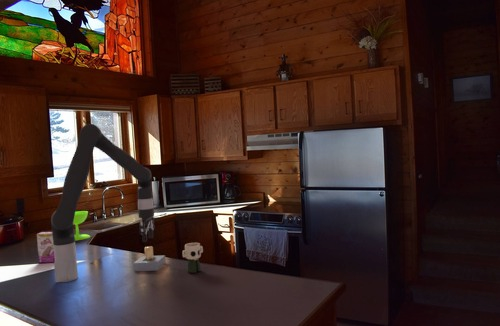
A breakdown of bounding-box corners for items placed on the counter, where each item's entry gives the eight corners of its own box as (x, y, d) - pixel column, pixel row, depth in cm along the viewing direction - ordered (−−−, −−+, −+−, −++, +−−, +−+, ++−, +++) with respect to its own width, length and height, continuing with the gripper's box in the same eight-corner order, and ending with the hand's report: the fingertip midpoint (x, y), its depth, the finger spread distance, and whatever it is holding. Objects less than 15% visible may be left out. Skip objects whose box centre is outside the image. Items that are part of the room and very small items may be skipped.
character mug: (188, 276, 180) (186, 248, 179) (180, 273, 185) (178, 245, 185) (208, 270, 187) (206, 243, 186) (200, 267, 192) (198, 240, 192)
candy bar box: (38, 263, 220) (35, 234, 220) (43, 260, 225) (41, 232, 225) (57, 262, 219) (54, 233, 218) (62, 260, 224) (60, 231, 223)
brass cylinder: (152, 268, 196) (151, 248, 196) (144, 268, 197) (143, 248, 196) (155, 265, 200) (153, 246, 200) (147, 266, 201) (146, 246, 200)
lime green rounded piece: (60, 240, 277) (58, 215, 276) (76, 235, 292) (74, 211, 292) (79, 241, 273) (77, 215, 272) (94, 235, 288) (92, 211, 287)
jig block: (157, 270, 192) (157, 262, 192) (134, 271, 193) (133, 263, 193) (165, 263, 204) (165, 255, 204) (143, 263, 205) (142, 256, 205)
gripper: (147, 209, 190) (150, 243, 190) (157, 205, 204) (159, 236, 204) (132, 210, 191) (135, 243, 191) (143, 205, 205) (145, 237, 205)
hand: (147, 239), depth 198 cm, fingers open, 8 cm apart
